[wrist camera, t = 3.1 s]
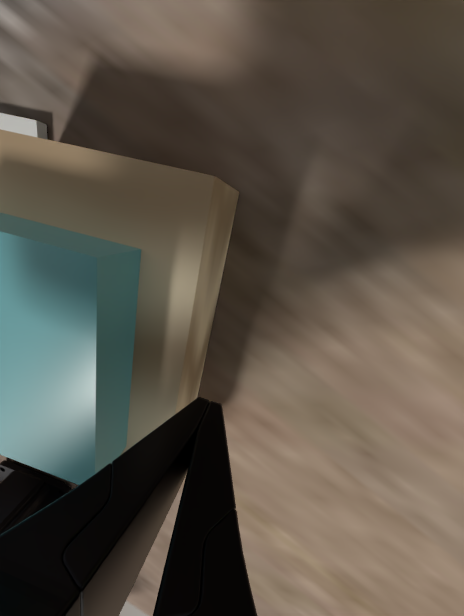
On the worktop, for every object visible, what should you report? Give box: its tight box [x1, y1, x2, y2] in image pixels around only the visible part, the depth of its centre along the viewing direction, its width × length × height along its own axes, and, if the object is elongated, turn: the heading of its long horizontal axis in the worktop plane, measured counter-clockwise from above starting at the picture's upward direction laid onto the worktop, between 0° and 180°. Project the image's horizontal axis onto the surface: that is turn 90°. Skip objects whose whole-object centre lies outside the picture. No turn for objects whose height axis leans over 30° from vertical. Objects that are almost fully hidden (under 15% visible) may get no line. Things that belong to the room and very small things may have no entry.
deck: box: [0, 129, 239, 454], centre depth 12 cm, size 14×9×4 cm, turn 168°
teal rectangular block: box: [0, 213, 141, 485], centre depth 9 cm, size 9×6×2 cm, turn 168°
